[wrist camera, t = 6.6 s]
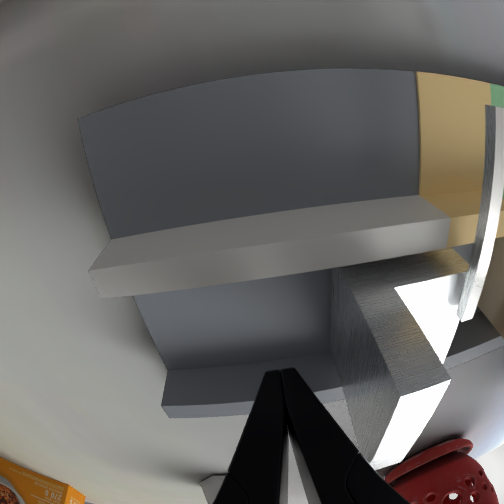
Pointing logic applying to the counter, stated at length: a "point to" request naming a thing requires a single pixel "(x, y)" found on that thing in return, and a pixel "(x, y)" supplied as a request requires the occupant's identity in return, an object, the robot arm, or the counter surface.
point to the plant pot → (443, 476)
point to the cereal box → (33, 487)
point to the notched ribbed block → (409, 323)
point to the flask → (211, 487)
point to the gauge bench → (280, 214)
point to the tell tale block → (494, 288)
